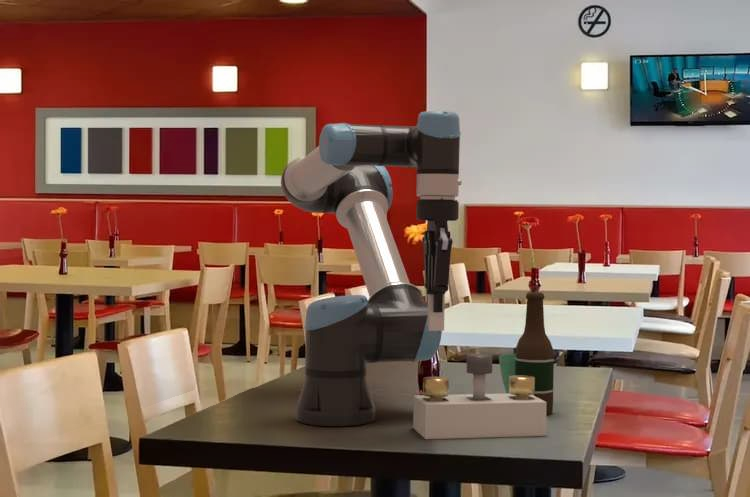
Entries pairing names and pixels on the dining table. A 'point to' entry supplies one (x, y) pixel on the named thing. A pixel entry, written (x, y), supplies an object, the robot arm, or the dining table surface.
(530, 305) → the beer bottle
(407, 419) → the dining table surface
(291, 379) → the dining table surface
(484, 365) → the knob mid
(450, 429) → the panel
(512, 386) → the knob right
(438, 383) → the knob left
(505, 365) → the mug
